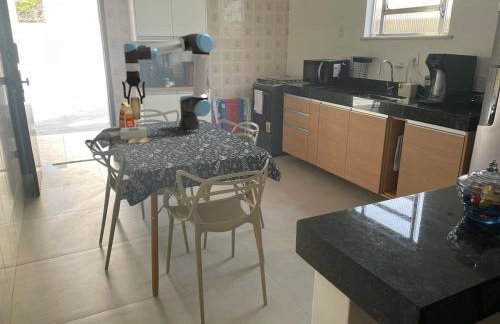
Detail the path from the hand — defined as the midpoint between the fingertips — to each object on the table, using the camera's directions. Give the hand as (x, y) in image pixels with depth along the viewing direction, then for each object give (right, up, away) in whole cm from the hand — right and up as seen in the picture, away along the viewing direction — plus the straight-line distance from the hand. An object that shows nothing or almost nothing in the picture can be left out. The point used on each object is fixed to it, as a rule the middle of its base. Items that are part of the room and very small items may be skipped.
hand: (135, 109), depth 232 cm
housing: (-6, -16, +16) cm, 23 cm away
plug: (0, -5, +2) cm, 6 cm away
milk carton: (-17, -8, +39) cm, 44 cm away
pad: (0, -19, +6) cm, 20 cm away
